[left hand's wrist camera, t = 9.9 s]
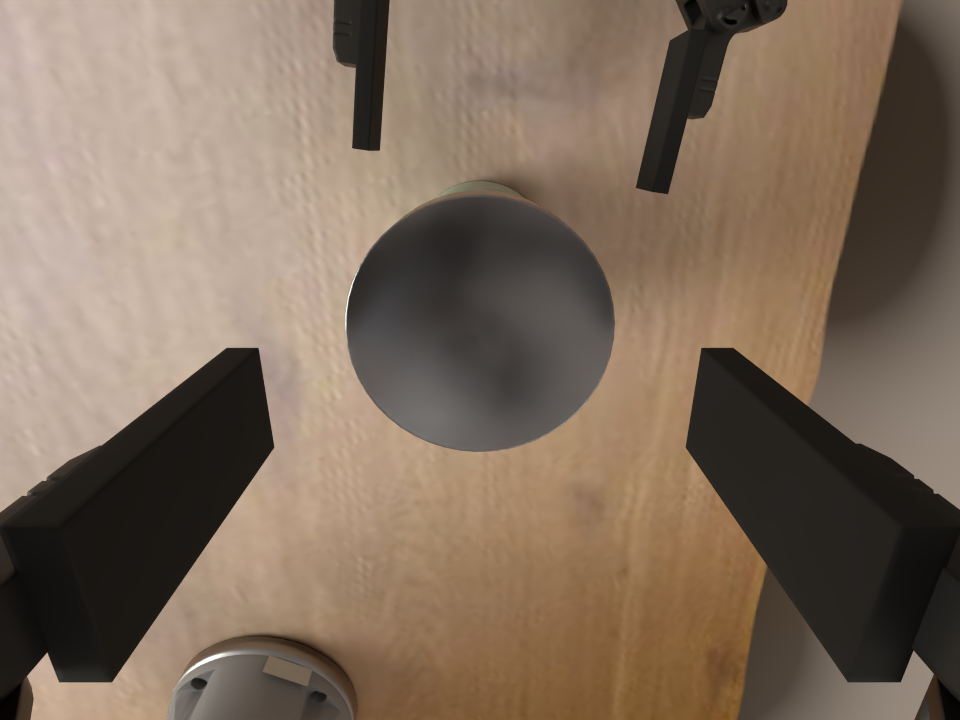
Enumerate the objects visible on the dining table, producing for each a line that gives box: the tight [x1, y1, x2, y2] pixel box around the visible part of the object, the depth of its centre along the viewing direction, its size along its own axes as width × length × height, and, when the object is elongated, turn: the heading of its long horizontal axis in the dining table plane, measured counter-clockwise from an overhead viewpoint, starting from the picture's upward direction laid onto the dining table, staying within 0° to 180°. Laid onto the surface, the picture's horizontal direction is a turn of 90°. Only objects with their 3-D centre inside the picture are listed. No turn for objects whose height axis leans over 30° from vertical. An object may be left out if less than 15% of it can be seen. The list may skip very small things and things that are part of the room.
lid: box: [346, 190, 615, 452], centre depth 19 cm, size 9×9×2 cm
